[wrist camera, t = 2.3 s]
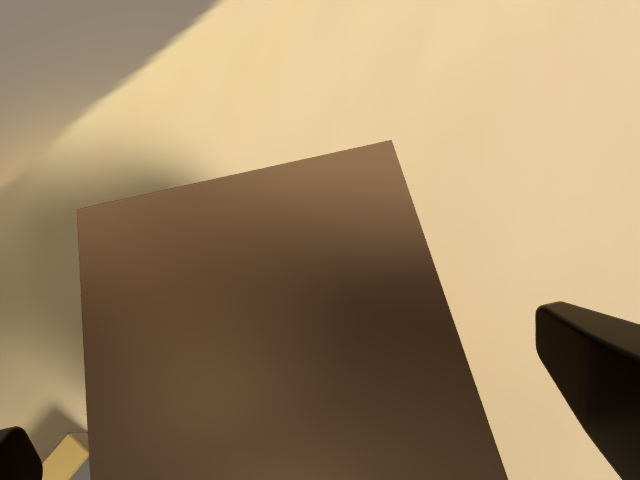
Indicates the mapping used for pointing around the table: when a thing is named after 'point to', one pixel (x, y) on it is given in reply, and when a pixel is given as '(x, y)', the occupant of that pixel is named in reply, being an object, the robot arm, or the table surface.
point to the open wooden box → (275, 332)
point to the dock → (68, 459)
